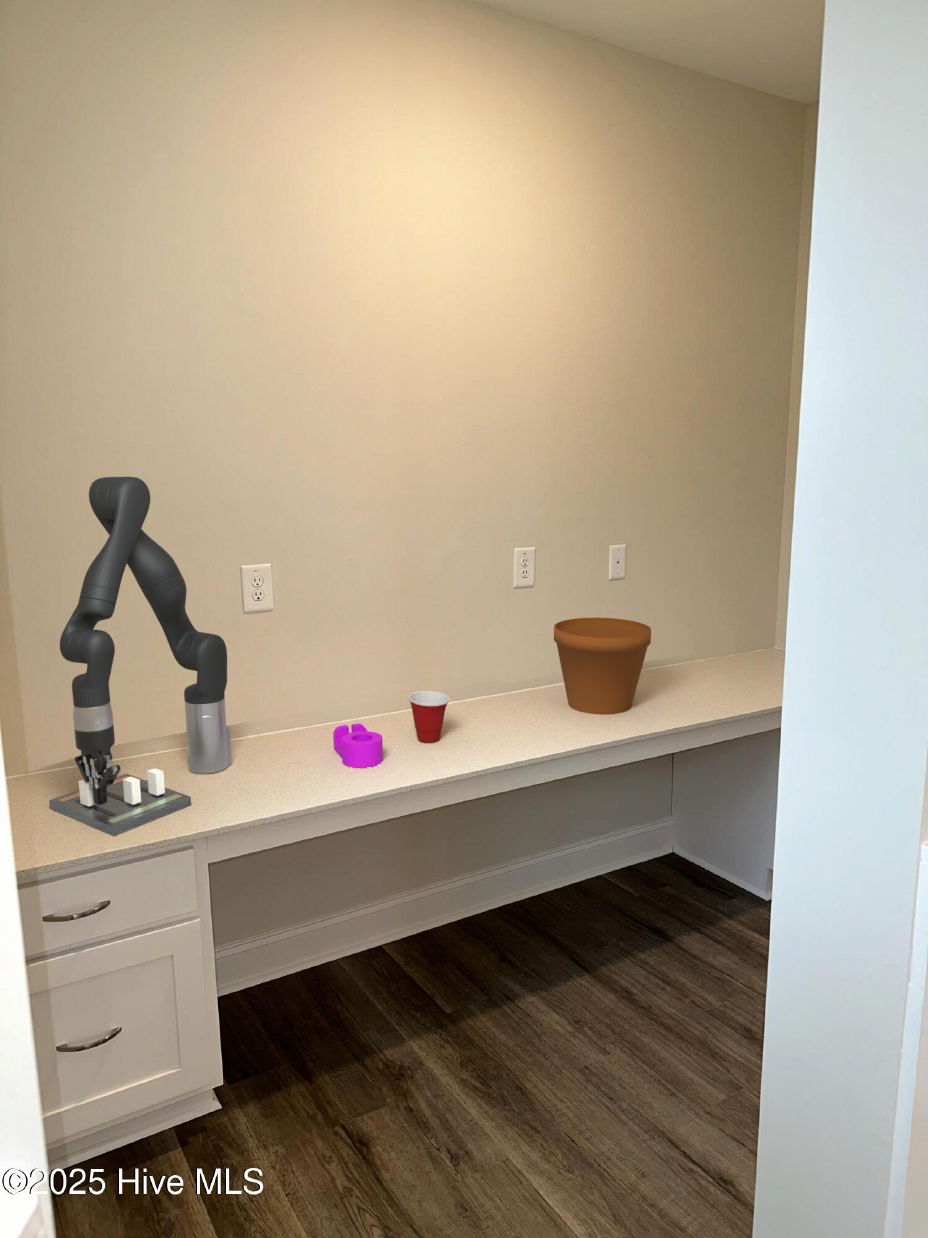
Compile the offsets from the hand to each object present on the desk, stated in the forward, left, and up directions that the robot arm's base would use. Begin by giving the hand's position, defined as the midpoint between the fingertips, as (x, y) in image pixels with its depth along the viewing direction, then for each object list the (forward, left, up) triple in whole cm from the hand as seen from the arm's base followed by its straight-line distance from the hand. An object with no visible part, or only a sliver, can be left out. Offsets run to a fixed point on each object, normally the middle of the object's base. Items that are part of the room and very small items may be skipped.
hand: (100, 803), depth 192 cm
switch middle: (-6, +2, -1) cm, 7 cm away
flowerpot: (-133, +47, -4) cm, 142 cm away
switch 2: (-12, +3, -1) cm, 12 cm away
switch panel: (-6, -2, -4) cm, 7 cm away
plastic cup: (-79, +25, -4) cm, 83 cm away
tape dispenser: (-59, +19, -4) cm, 62 cm away
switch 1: (0, -4, -1) cm, 4 cm away
